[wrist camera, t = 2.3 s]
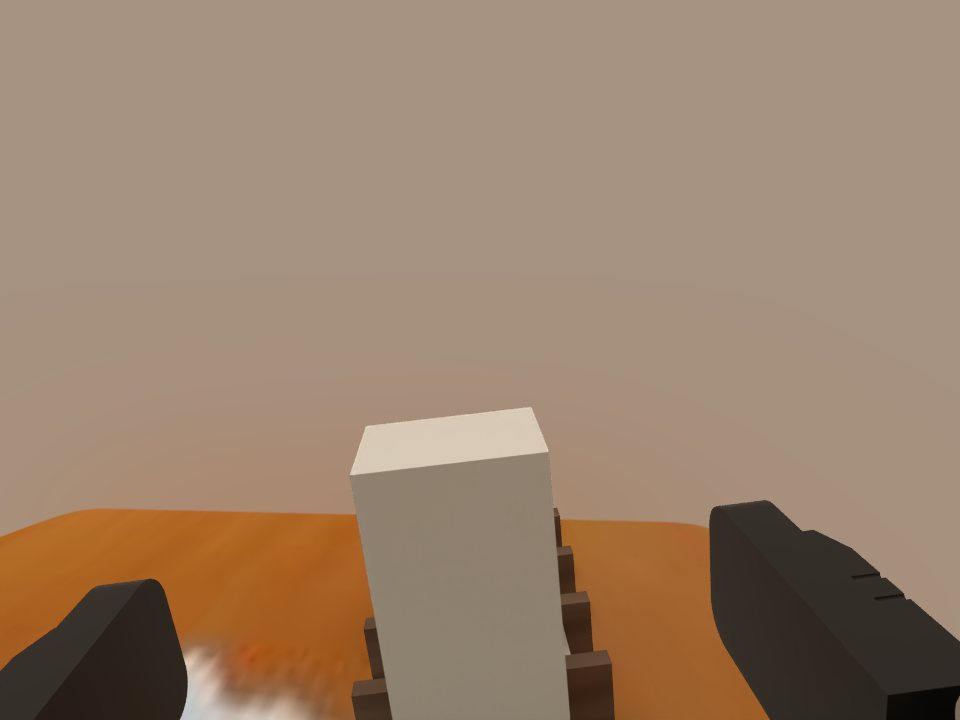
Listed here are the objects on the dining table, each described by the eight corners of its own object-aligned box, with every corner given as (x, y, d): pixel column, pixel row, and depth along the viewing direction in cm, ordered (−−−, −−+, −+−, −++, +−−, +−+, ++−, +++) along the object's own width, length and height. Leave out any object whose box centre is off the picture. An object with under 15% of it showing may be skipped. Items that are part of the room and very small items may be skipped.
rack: (660, 901, 22) (656, 792, 21) (349, 943, 22) (325, 836, 20) (562, 576, 40) (556, 507, 39) (393, 597, 40) (382, 528, 39)
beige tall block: (580, 849, 23) (548, 451, 19) (418, 870, 23) (349, 475, 18) (560, 754, 27) (531, 407, 22) (423, 772, 27) (366, 426, 22)
